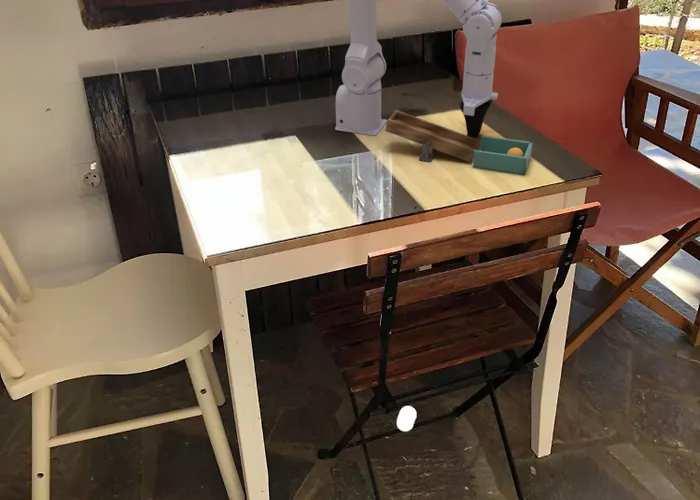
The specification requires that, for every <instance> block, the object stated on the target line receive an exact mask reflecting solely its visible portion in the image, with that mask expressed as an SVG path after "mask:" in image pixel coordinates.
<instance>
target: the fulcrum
mask: <svg viewBox="0 0 700 500" xmlns="http://www.w3.org/2000/svg"><path fill="white" fill-rule="evenodd" d="M438 152H439V151H438V150H436V149H433V148H430V147H429V144H428V143H423V145H422V153H420V156H419V157H418V161H421V162H424V163H425V162H427V163H431V162H432V161H433V159H434V158H435V156H436V154H437V153H438Z"/></svg>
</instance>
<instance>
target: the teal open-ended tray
mask: <svg viewBox="0 0 700 500" xmlns="http://www.w3.org/2000/svg"><path fill="white" fill-rule="evenodd" d="M533 144H534V143H533V141H527V140H519V139H511V138H505V137H504V138H503V137H497V136H489V135H484V134H482V138H481V142H480V150H478V149H476V150H474V155H473V157H472V159H473V161H472V168H473V169H481V170H488V171H495V172H502V173H508V174H513V175H522V176H525V175H526V172H527V170H528V167H529V164H530V161H531V159H532V151H533ZM511 148H519V149H521V150H522V152H523V157H522V156H515V155H508V154H507V152H508V151H509V150H510V149H511Z"/></svg>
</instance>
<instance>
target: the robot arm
mask: <svg viewBox="0 0 700 500" xmlns="http://www.w3.org/2000/svg"><path fill="white" fill-rule="evenodd" d="M441 1H442V2H443V4H444V5H446V7H447V8H448V9H449V11H450V12H451V13H452V14H453V15H454V17H456V18H457V19H458V20H459V22H460V23H462V24H463V25H462V32H463V35H464V36H465V38H466V46H465V54H464V65H463V66H464V67H463V68H464V69H463V79H462V89H461V91H460V92H461V93H460V95H461V99H462V101H461V102H460V104H459V107H460V110H461V113H462V115H463V117H464V122H465V126H466V132H467V134H468V136H472V137H478V136H479V134H481V132H482V131H481V130H482V127H483V125H484V124H483V123H484V120H485V116H486V115H487V112H488V110H489V109H490V107H491V105H492V104H493V100H497V99H498V97H499V93H498V92H495V91H493V83H494V75H495V74H494V72H495V63H496V54H497V53H496V52H497V47H496V45H497V36H498V34H497V32H498V30H499V29H500V27H501V25H502V21H503V18H502V13H501V11H500V10H499V8H498V6H497V4H494V3H491V2H490V1H489V0H441ZM348 4H349V5H348V6H349V7H348V9H349V12H348V13H349V33H350V34H349V35H350V45H349V47H348V49H347V51H346V54H345V57H344V61H345V62H344V66H343V69H342V72H341V81H342V83H343V84H341V85H339V87H338V89H337V91H336V94H335V124H336V125H335V128H334V130H335V131H338V132H339V131H340V132H346V133H353V134H361V135H368V136H374V137H375V136H378V134H379V132H380V131H381V130H382V129H383V128H384V126H386V125H387V121H388V119H385V118H382V82H381V79H382V77H384V75H385V73H386V70H387V63H386V60H385V58H384V55H383V51H382V50H383V49H382V48H383V47H382V45H381V44H380V43H379V41H378V38H377V37H378V36H377V35H378V33H377V32H378V31H377V30H378V29H377V0H348ZM467 134H466V135H467Z"/></svg>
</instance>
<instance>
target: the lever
mask: <svg viewBox="0 0 700 500" xmlns="http://www.w3.org/2000/svg"><path fill="white" fill-rule="evenodd" d="M384 131H385V132H386V133H387V132H388V133H390V134H392V135H395V136H398V137H401V138H404V139H406V140H408V141H412V142H415V143H416V144H420V145H422V146H423V143H428V144H429V147H430V148H433V149H436V150H438V151H437V152H441V153H444V154H447V155H449V156H451V157H455V158H457V159H460V160H463V161H466V162H468V163H470V162H471V161H472V159H473V158H474V150H478V148H479V145H481V138H482V135H483V134H482V133H480V134H479V136H478V137H472V136H468V134H464V133H461V132H459V131H455V130H453V129H449V128H447V127H445V126H442V125H439V124H436V123H434V122H431V121H427V120H425V119H422V118H420V117H416V116H414V115H412V114H408V113H406V112H403V111H400V110H398V109H395V110H394V111H393V112H392V114H391V115H390V116H389V118H388V119H387V123H386V124H385V130H384Z"/></svg>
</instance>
